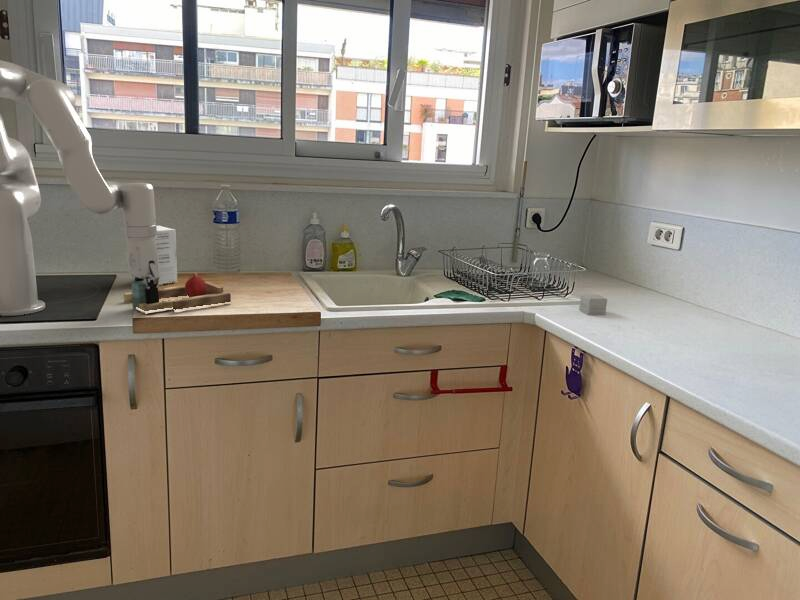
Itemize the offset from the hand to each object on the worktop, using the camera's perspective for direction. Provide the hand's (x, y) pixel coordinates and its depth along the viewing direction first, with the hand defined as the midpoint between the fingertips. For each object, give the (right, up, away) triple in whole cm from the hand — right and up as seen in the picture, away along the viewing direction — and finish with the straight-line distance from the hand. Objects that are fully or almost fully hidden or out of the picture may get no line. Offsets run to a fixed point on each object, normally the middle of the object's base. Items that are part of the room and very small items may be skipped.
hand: (146, 299), depth 169 cm
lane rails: (+9, -1, +9) cm, 13 cm away
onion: (+9, -1, +11) cm, 15 cm away
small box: (+122, -4, +20) cm, 123 cm away
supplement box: (-9, +5, +31) cm, 32 cm away
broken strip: (-1, +1, +13) cm, 13 cm away
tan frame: (+6, -1, +7) cm, 9 cm away
